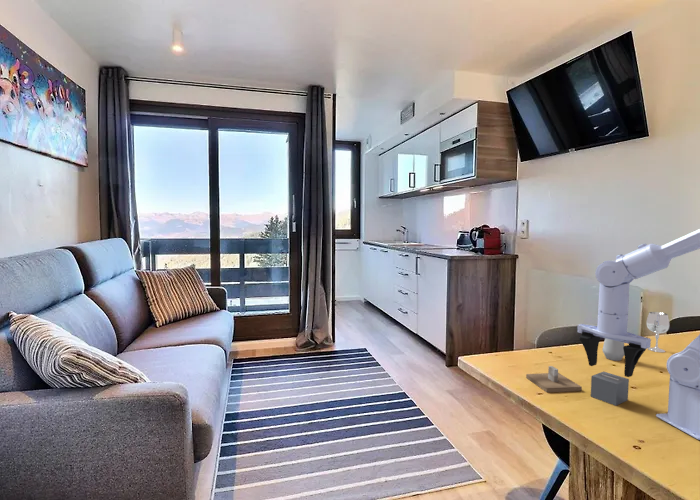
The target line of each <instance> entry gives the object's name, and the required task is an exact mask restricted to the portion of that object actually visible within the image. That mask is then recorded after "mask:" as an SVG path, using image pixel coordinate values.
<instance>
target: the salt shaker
mask: <svg viewBox="0 0 700 500" xmlns="http://www.w3.org/2000/svg"><path fill="white" fill-rule="evenodd" d="M623 346H625V343H623V342H619V341H615V340H611V339H606V338H604V341H603V347H602V353H603V354H604V356H605V359H608V360H611V361H615V362H616V361H617V362H620V361H622V359H623V358H625V355H624V349H623Z"/></svg>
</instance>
